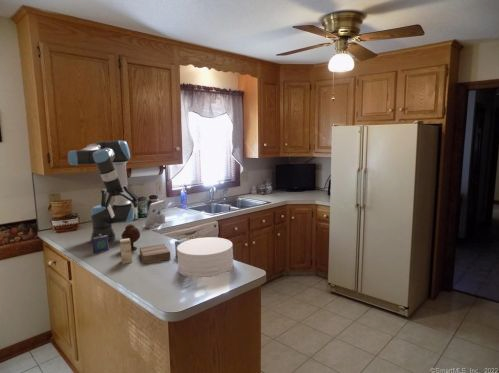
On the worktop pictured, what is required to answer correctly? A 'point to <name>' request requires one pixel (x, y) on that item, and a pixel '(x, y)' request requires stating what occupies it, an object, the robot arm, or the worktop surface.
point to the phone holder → (155, 215)
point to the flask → (100, 244)
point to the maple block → (125, 250)
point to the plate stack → (205, 257)
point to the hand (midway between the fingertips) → (124, 214)
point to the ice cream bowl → (131, 235)
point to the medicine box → (179, 243)
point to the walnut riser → (154, 253)
